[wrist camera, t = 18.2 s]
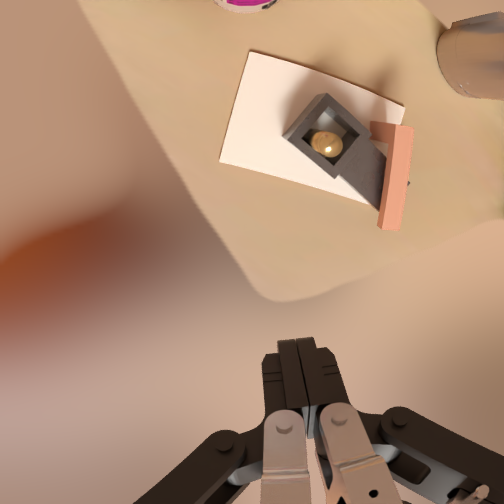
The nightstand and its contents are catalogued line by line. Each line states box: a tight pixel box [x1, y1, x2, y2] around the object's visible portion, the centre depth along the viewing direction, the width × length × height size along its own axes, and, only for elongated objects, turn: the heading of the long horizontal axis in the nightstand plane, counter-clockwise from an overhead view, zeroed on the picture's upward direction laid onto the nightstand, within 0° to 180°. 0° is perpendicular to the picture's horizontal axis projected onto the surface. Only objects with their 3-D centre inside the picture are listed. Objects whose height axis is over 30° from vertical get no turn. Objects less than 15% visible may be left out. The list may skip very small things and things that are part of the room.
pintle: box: [302, 128, 343, 157], centre depth 27 cm, size 2×2×8 cm
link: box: [282, 93, 410, 212], centre depth 29 cm, size 12×6×4 cm, turn 52°
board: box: [219, 52, 405, 205], centre depth 30 cm, size 12×18×1 cm
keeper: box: [369, 121, 414, 230], centre depth 29 cm, size 10×2×6 cm, turn 178°
